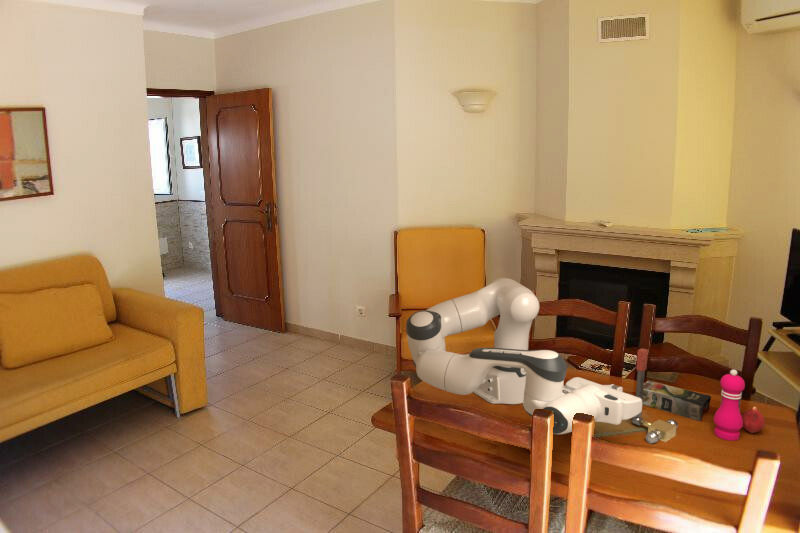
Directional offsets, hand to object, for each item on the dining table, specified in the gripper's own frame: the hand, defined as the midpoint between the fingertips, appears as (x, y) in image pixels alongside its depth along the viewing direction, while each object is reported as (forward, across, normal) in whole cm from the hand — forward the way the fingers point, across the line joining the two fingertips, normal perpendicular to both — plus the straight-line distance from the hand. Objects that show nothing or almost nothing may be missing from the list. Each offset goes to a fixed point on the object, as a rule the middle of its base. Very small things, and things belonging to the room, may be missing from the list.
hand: (617, 388), depth 157 cm
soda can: (+40, +14, -16) cm, 45 cm away
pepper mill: (+28, +19, -16) cm, 37 cm away
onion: (+35, +22, -16) cm, 45 cm away
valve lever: (+14, -1, -16) cm, 21 cm away
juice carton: (+34, 0, -17) cm, 38 cm away
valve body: (+14, +5, -16) cm, 22 cm away
